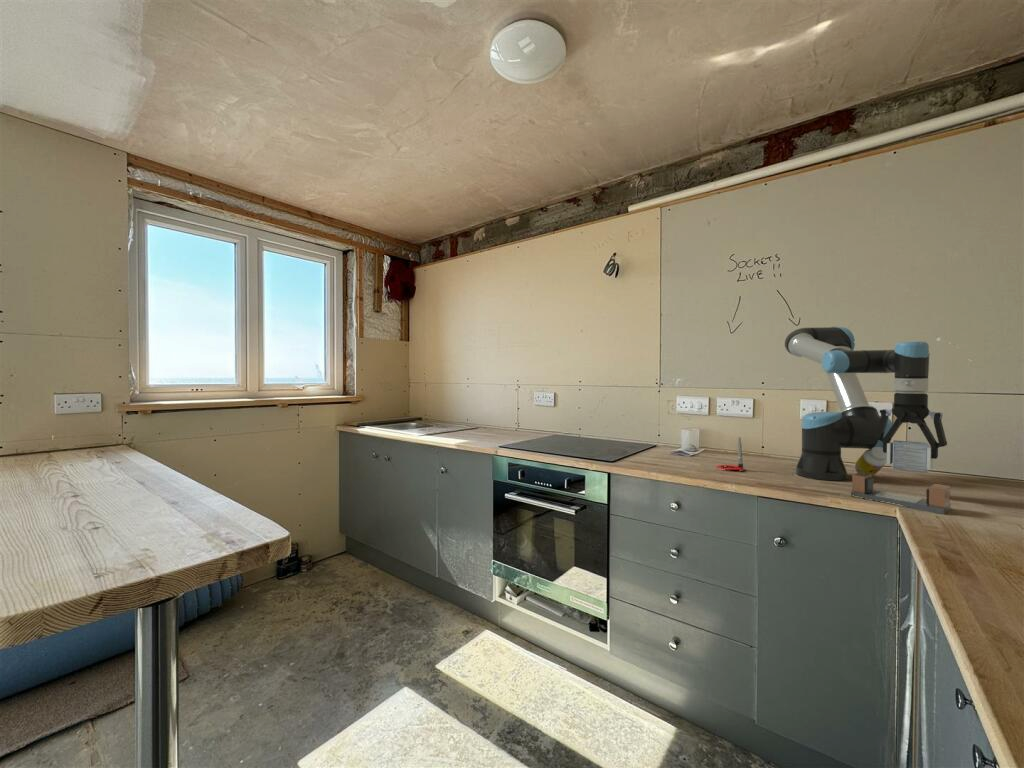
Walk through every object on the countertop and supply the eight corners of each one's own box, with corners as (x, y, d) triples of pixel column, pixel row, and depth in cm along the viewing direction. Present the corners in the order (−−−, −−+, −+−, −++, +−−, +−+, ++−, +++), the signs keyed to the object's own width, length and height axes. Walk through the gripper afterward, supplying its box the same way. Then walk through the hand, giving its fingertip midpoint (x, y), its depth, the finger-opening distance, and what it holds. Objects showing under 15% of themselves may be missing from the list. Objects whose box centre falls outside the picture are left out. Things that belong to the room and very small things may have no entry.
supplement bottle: (863, 480, 153) (878, 463, 143) (848, 465, 157) (862, 447, 148) (880, 474, 153) (896, 456, 143) (865, 459, 157) (880, 441, 148)
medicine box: (927, 470, 129) (928, 442, 129) (927, 473, 126) (928, 445, 125) (892, 466, 134) (893, 439, 134) (892, 469, 131) (893, 442, 131)
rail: (850, 496, 128) (851, 475, 128) (860, 492, 133) (860, 471, 133) (943, 514, 112) (943, 490, 112) (950, 508, 116) (951, 485, 116)
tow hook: (716, 471, 165) (743, 472, 160) (714, 438, 165) (741, 438, 160) (717, 467, 172) (743, 468, 167) (716, 435, 172) (741, 436, 168)
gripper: (862, 391, 135) (861, 461, 136) (957, 394, 117) (955, 474, 118) (871, 390, 139) (869, 458, 140) (964, 393, 122) (962, 471, 122)
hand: (909, 466), depth 129 cm, fingers closed on medicine box, 8 cm apart
